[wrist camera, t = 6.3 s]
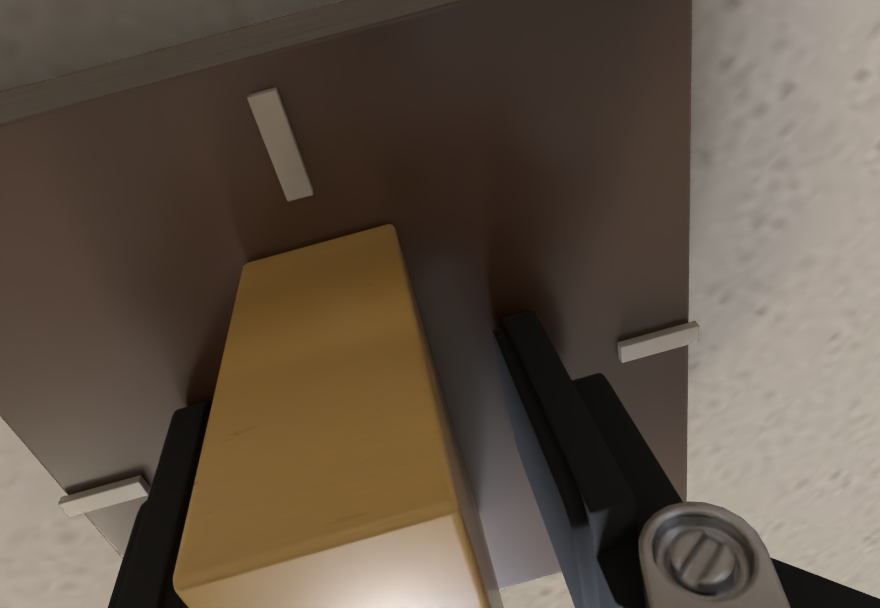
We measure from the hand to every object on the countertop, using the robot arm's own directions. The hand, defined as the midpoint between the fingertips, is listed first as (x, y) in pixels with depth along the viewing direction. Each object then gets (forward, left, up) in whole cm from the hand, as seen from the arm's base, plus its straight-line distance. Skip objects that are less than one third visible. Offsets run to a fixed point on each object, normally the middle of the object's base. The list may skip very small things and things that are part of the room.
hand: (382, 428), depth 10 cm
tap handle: (0, 0, 0) cm, 0 cm away
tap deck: (0, 0, -3) cm, 3 cm away
